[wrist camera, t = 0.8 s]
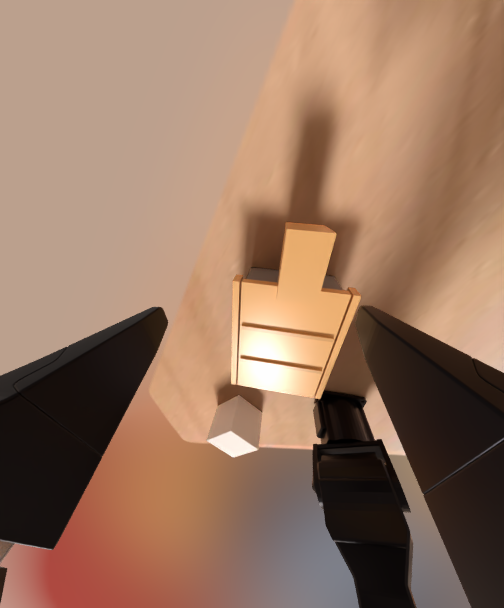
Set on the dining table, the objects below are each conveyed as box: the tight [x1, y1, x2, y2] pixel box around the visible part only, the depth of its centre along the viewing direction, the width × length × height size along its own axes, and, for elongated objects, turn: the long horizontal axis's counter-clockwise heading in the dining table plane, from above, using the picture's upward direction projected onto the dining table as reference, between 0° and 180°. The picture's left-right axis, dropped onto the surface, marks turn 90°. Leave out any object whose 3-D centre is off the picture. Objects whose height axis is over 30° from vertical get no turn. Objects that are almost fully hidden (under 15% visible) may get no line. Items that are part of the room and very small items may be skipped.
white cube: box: [207, 395, 262, 457], centre depth 32 cm, size 6×6×6 cm
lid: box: [231, 222, 361, 399], centre depth 18 cm, size 11×19×4 cm, turn 177°
